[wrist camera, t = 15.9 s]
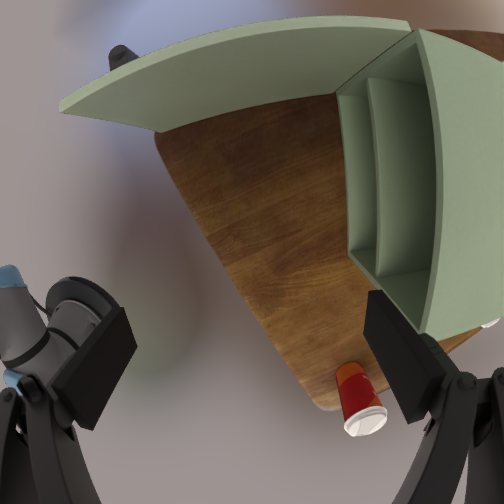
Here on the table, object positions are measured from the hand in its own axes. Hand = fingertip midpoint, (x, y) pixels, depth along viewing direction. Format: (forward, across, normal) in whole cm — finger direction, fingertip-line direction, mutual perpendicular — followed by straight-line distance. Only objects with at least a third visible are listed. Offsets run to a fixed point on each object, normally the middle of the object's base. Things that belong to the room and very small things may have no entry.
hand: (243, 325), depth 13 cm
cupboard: (+28, +23, +6) cm, 37 cm away
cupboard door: (+28, 0, +19) cm, 34 cm away
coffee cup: (+28, +17, -34) cm, 48 cm away
